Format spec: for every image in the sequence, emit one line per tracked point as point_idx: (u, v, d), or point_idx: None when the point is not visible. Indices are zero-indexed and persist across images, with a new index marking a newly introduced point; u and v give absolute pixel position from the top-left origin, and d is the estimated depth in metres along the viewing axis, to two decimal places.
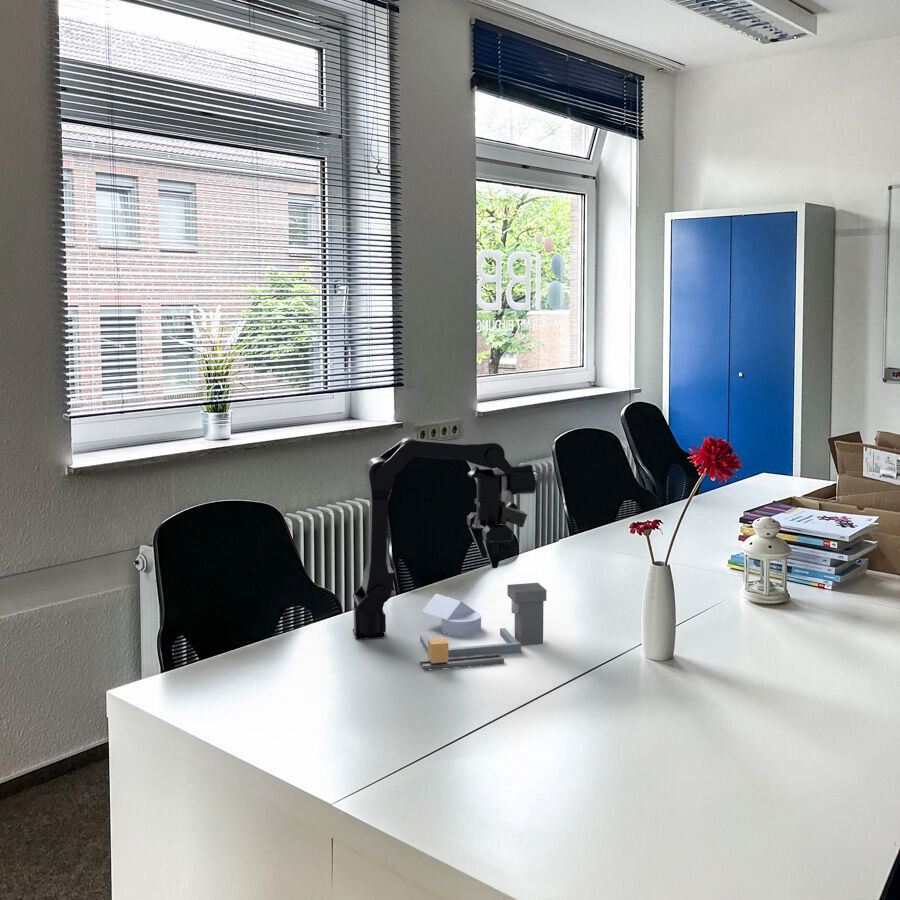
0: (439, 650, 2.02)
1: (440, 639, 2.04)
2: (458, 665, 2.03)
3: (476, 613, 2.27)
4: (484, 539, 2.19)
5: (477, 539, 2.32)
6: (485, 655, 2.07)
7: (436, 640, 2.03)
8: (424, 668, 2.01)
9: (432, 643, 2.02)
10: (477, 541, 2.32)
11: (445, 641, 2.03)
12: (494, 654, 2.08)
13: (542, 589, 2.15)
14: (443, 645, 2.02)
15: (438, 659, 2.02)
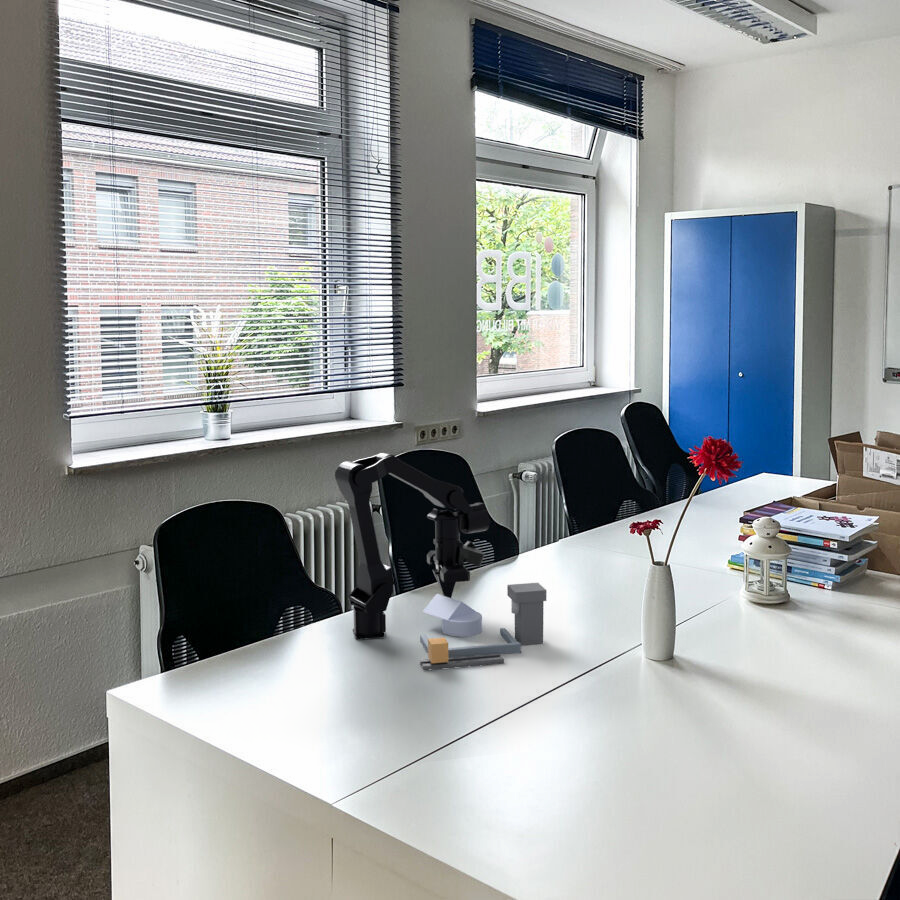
0: (439, 650, 2.02)
1: (440, 639, 2.04)
2: (458, 665, 2.03)
3: (477, 613, 2.27)
4: (442, 580, 2.26)
5: None
6: (485, 655, 2.07)
7: (436, 640, 2.03)
8: (424, 668, 2.01)
9: (432, 643, 2.02)
10: None
11: (445, 641, 2.03)
12: (494, 654, 2.08)
13: (542, 589, 2.15)
14: (443, 645, 2.02)
15: (438, 659, 2.02)
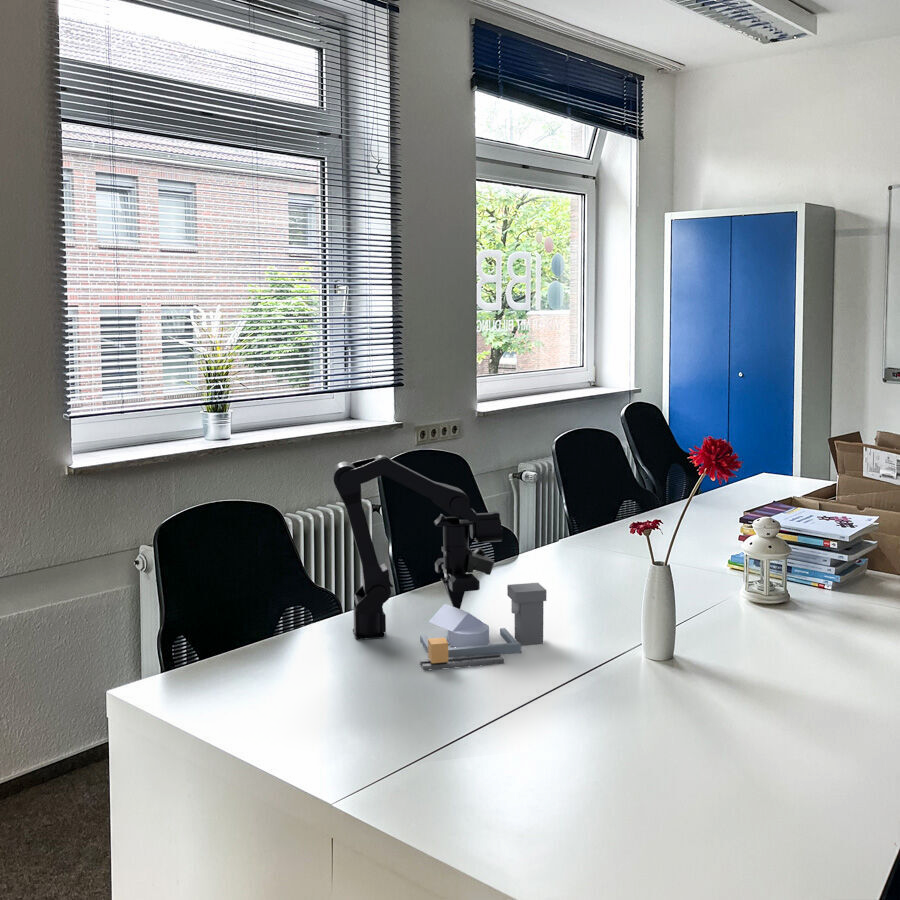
0: (439, 650, 2.02)
1: (440, 639, 2.04)
2: (458, 665, 2.03)
3: (484, 625, 2.19)
4: (450, 589, 2.18)
5: None
6: (485, 655, 2.07)
7: (436, 640, 2.03)
8: (424, 668, 2.01)
9: (432, 643, 2.02)
10: None
11: (445, 641, 2.03)
12: (494, 654, 2.08)
13: (542, 589, 2.15)
14: (443, 645, 2.02)
15: (438, 659, 2.02)
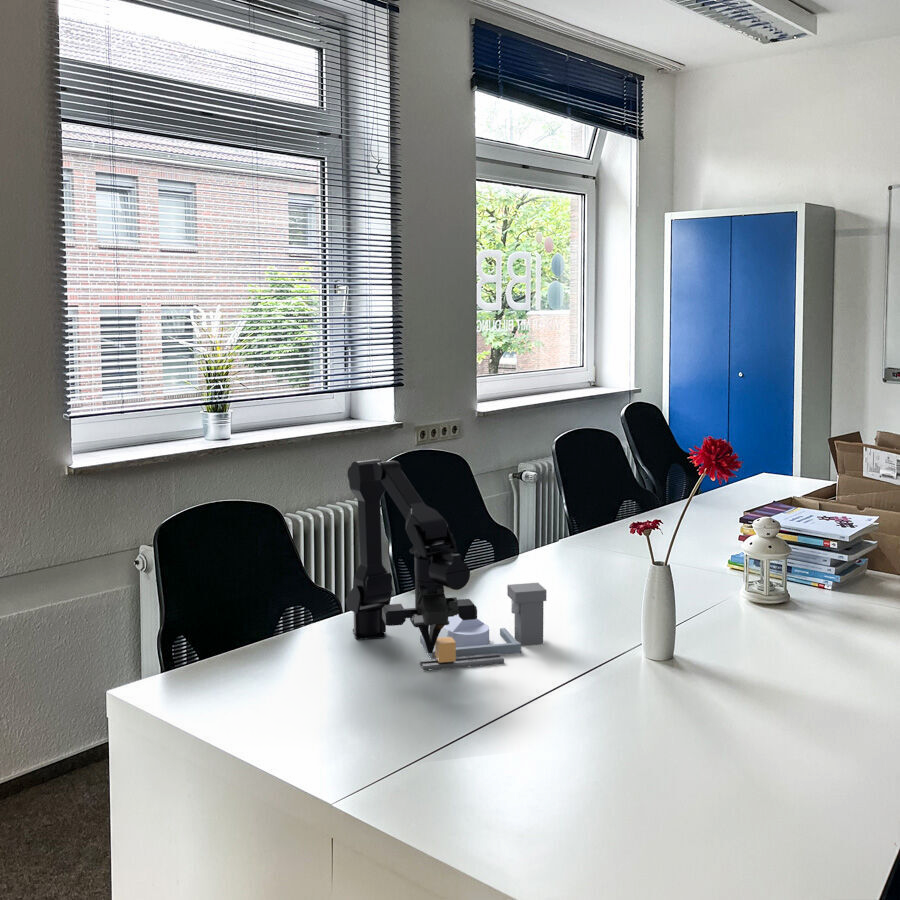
0: (447, 650, 2.02)
1: (447, 638, 2.04)
2: (458, 665, 2.03)
3: (484, 626, 2.19)
4: None
5: (430, 629, 2.04)
6: (485, 655, 2.07)
7: (443, 639, 2.04)
8: (424, 668, 2.01)
9: (439, 642, 2.02)
10: (429, 631, 2.04)
11: (452, 640, 2.03)
12: (494, 654, 2.08)
13: (542, 589, 2.15)
14: (451, 644, 2.02)
15: (445, 658, 2.02)
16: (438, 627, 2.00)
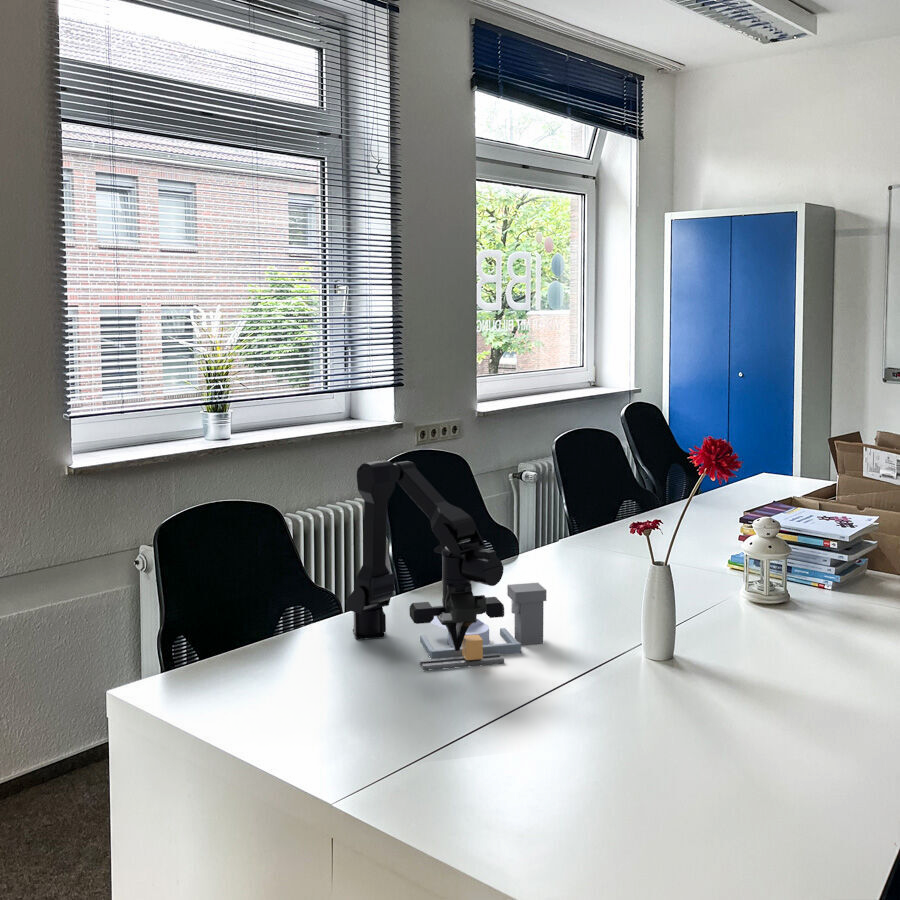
0: (474, 647, 2.03)
1: (474, 636, 2.05)
2: (458, 665, 2.03)
3: (484, 625, 2.19)
4: None
5: (457, 627, 2.05)
6: (485, 655, 2.07)
7: (470, 637, 2.05)
8: (424, 668, 2.01)
9: (467, 640, 2.03)
10: (456, 628, 2.05)
11: (479, 638, 2.04)
12: (494, 654, 2.08)
13: (542, 589, 2.15)
14: (478, 642, 2.03)
15: (473, 656, 2.03)
16: (465, 624, 2.02)
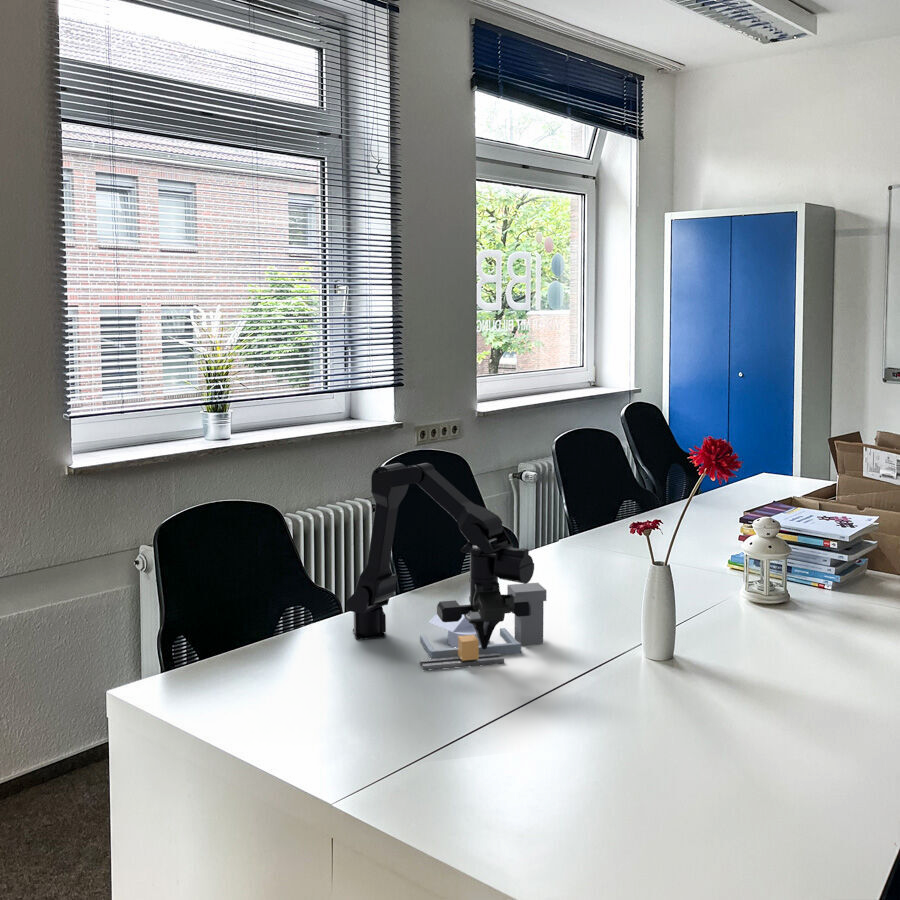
0: (470, 648, 2.03)
1: (470, 636, 2.05)
2: (458, 665, 2.03)
3: None
4: None
5: (484, 625, 2.07)
6: (485, 655, 2.07)
7: (466, 637, 2.05)
8: (424, 668, 2.01)
9: (463, 640, 2.03)
10: (483, 627, 2.07)
11: (475, 638, 2.04)
12: (494, 654, 2.08)
13: (542, 589, 2.15)
14: (474, 642, 2.03)
15: (468, 656, 2.03)
16: (492, 623, 2.03)
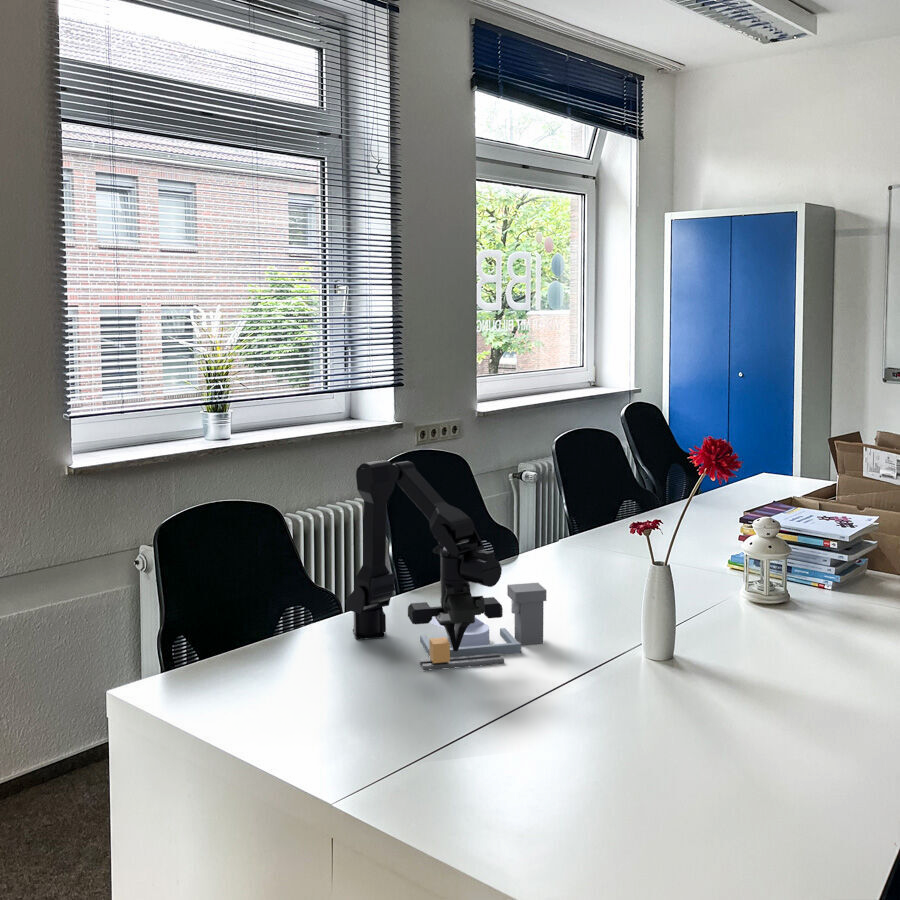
0: (441, 650, 2.02)
1: (442, 639, 2.04)
2: (458, 665, 2.03)
3: (485, 626, 2.19)
4: None
5: (456, 627, 2.05)
6: (485, 655, 2.07)
7: (438, 640, 2.03)
8: (424, 668, 2.01)
9: (434, 643, 2.02)
10: (455, 629, 2.05)
11: (447, 641, 2.03)
12: (494, 654, 2.08)
13: (542, 589, 2.15)
14: (445, 645, 2.02)
15: (440, 659, 2.02)
16: (463, 625, 2.02)
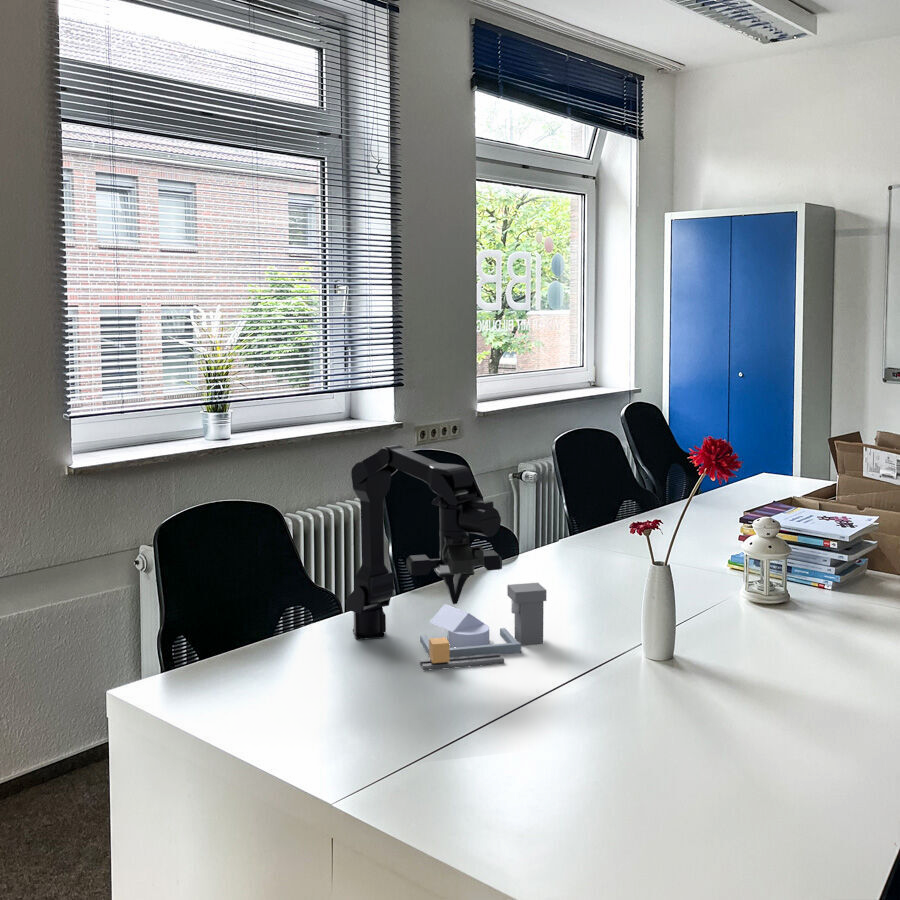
0: (440, 650, 2.02)
1: (441, 639, 2.04)
2: (458, 665, 2.03)
3: (485, 626, 2.19)
4: None
5: (455, 580, 2.04)
6: (485, 655, 2.07)
7: (437, 640, 2.03)
8: (424, 668, 2.01)
9: (433, 643, 2.02)
10: (454, 582, 2.04)
11: (446, 641, 2.03)
12: (494, 654, 2.08)
13: (542, 589, 2.15)
14: (445, 645, 2.02)
15: (439, 659, 2.02)
16: (463, 577, 2.00)
